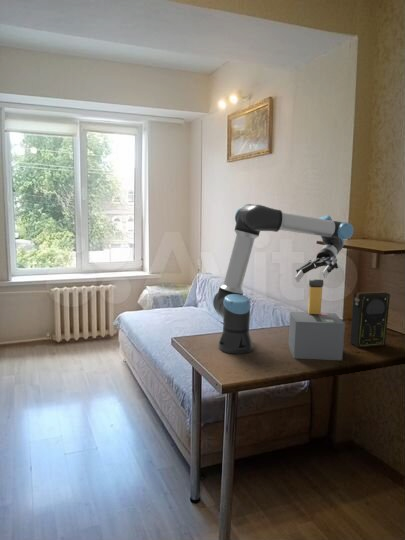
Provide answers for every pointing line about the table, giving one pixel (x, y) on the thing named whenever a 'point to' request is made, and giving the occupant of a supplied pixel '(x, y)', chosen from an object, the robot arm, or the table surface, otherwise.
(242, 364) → the table surface
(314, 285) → the yellow tall block
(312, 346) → the box
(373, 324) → the voltmeter
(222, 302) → the robot arm
